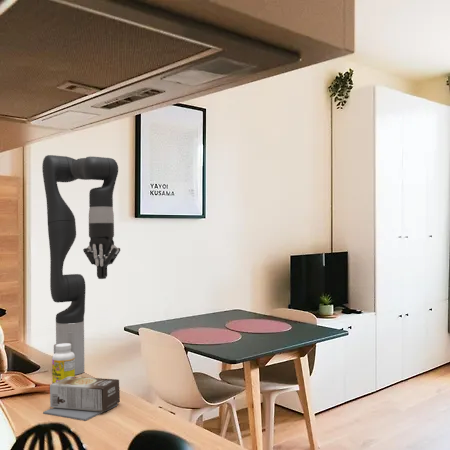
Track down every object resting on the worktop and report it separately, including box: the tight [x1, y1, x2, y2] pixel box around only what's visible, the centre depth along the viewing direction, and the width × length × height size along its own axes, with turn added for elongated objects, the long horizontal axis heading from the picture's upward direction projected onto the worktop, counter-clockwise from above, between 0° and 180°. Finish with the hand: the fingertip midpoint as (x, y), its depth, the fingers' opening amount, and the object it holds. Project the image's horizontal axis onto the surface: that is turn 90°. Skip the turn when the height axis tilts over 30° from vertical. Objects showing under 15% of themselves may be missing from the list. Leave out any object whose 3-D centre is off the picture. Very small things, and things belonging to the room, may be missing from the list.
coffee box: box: [49, 376, 121, 413], centre depth 142 cm, size 9×6×16 cm
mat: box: [42, 403, 119, 422], centre depth 140 cm, size 14×13×1 cm
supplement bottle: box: [51, 343, 76, 384], centre depth 162 cm, size 7×7×13 cm
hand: (102, 278), depth 161 cm, fingers closed
